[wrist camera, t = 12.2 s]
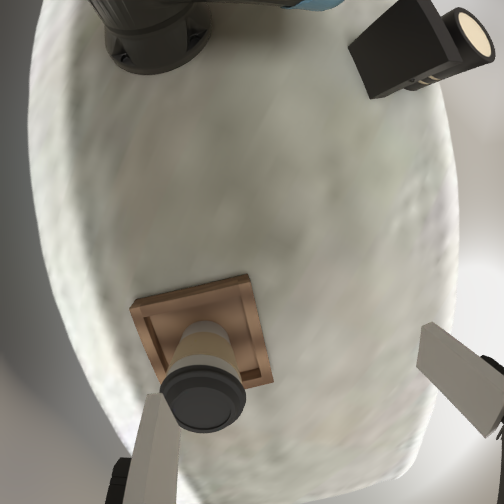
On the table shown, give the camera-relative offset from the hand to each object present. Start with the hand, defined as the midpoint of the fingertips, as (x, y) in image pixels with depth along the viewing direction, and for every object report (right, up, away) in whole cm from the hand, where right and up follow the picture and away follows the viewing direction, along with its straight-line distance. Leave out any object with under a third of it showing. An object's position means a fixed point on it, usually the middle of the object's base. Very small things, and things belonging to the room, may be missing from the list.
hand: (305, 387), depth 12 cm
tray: (-9, -6, +28) cm, 30 cm away
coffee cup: (-9, -6, +27) cm, 29 cm away
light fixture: (+20, +35, +23) cm, 47 cm away
